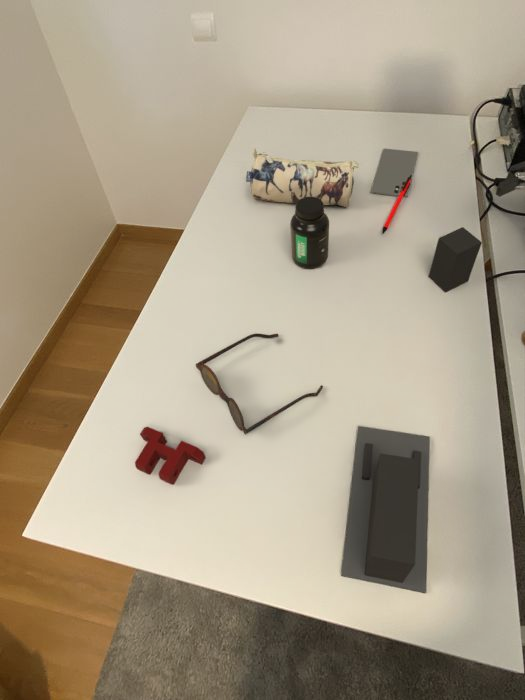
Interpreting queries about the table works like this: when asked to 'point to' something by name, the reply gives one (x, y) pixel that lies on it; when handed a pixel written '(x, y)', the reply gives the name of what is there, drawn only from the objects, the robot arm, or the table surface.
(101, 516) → the table surface
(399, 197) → the pen
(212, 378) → the eyeglasses
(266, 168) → the pencil case
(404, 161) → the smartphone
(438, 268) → the black rectangular box
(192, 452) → the bracket
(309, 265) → the supplement bottle
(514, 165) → the robot arm
